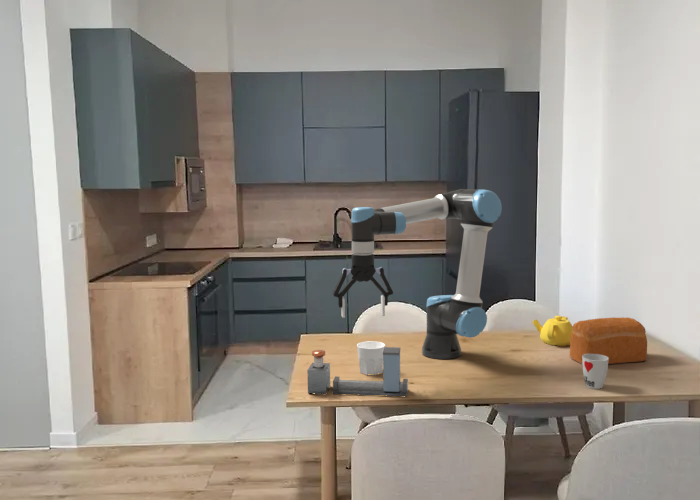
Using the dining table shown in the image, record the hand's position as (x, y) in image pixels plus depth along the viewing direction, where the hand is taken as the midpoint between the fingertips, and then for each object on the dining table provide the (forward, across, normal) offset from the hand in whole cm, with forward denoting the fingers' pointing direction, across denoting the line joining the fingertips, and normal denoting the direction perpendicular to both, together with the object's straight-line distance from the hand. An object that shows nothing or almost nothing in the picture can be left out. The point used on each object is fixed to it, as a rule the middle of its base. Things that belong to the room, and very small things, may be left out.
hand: (363, 316), depth 218 cm
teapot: (+23, -87, -35) cm, 96 cm away
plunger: (+19, +16, +5) cm, 25 cm away
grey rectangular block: (+21, -7, +12) cm, 26 cm away
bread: (+23, -95, -7) cm, 98 cm away
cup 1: (+23, -5, -10) cm, 26 cm away
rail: (+23, 0, +10) cm, 25 cm away
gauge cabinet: (+23, +16, +5) cm, 28 cm away
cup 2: (+23, -74, +20) cm, 80 cm away
